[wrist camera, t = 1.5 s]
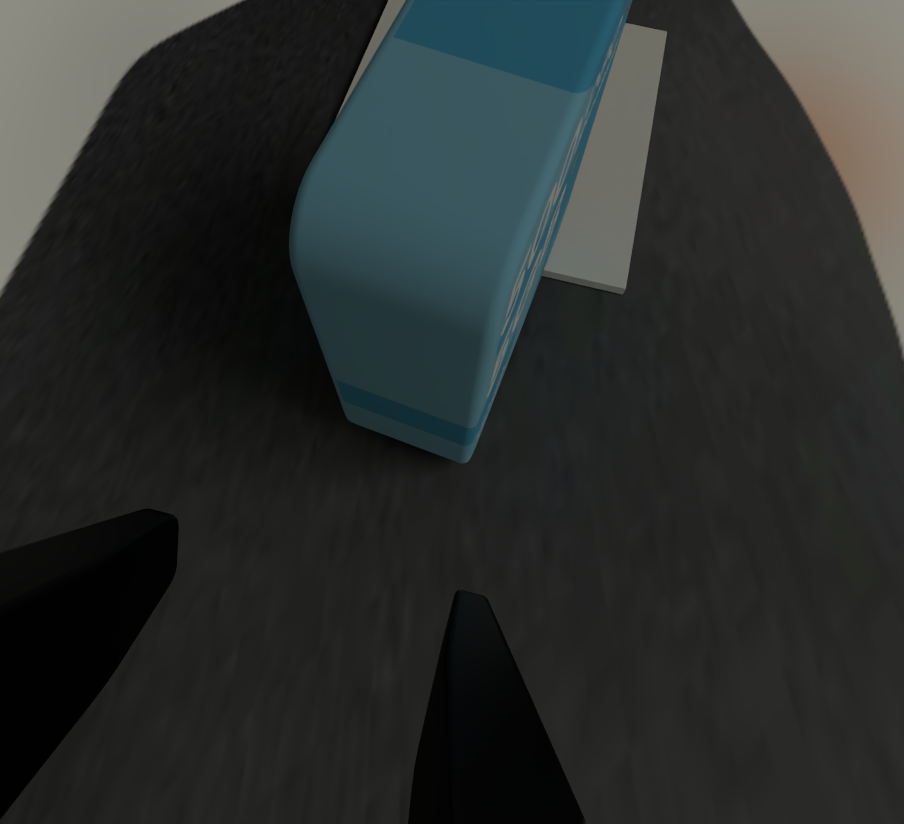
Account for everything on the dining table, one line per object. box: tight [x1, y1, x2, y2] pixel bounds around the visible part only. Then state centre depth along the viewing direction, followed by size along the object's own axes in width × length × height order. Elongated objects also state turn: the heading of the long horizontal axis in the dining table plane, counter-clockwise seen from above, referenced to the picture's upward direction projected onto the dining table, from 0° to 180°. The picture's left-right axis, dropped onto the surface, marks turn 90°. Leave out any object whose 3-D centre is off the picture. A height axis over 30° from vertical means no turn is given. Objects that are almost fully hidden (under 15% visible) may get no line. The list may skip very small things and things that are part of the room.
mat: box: [336, 0, 667, 295], centre depth 29 cm, size 16×14×1 cm
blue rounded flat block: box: [289, 0, 632, 463], centre depth 19 cm, size 12×4×12 cm, turn 159°
